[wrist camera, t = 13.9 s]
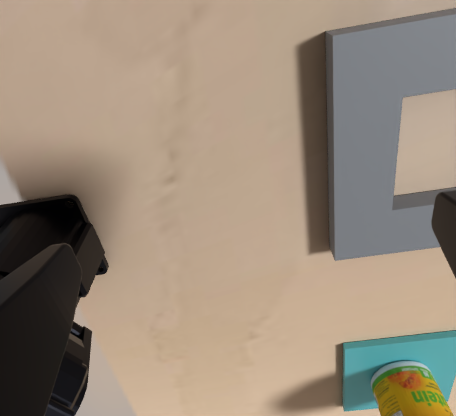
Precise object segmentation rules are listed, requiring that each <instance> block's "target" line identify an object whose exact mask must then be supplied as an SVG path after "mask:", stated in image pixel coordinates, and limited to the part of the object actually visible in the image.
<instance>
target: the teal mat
mask: <svg viewBox="0 0 456 416" xmlns="http://www.w3.org/2000/svg"><path fill="white" fill-rule="evenodd" d="M399 361H416V362H420V363H422V364H424V365H425V366H427V367H428V368H429V370H430V371H431V373H432V375H433V377H434V378H435V380H436V382H437V384H438V386H439V388H440V390H441V392H442V394H443V396H444V398H445V400H446V401H448V399H449V396H450V392H451V389H452V385H453V382H454V378H455V375H456V330H455V331H446V332H437V333H428V334H420V335H411V336H402V337H393V338H384V339H375V340H366V341H357V342H349V343H343V409H344V411H354V410H364V409H374V408H378V406H377V403H376V400H375V397H374V394H373V391H372V388H371V379H372V377H373V375H374V374H375V373H376V372H377V371H378V370H379V369H380V368H382V367H383V366H385V365H388V364H391V363H394V362H399Z"/></svg>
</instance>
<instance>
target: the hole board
mask: <svg viewBox="0 0 456 416" xmlns="http://www.w3.org/2000/svg"><path fill="white" fill-rule="evenodd" d="M325 38H326V90H327V143H328V195H329V247H330V249H331V252H332V254H333V257H334V260H335V261H336V260H344V259H352V258H359V257H367V256H375V255H382V254H390V253H398V252H405V251H413V250H421V249H428V248H436V247H440V245H439V243H438V240H437V238H436V236H435V234H434V232H433V230H432V225H431V220H432V214H433V209H434V203H435V198H436V195H437V194H438V193H439V192H444V191H451V190H456V187H454V188H447V189H440V190H433V191H426V192H419V193H412V194H405V195H398V196H394V185H395V174H396V163H397V153H398V142H399V131H400V121H401V110H402V99H403V97H409V96H415V95H421V94H427V93H433V92H439V91H446V90H452V89H456V8H453V9H448V10H442V11H436V12H431V13H425V14H420V15H414V16H408V17H403V18H397V19H392V20H386V21H381V22H375V23H369V24H364V25H358V26H353V27H347V28H342V29H336V30H330V31H325Z"/></svg>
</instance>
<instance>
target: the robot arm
mask: <svg viewBox="0 0 456 416" xmlns="http://www.w3.org/2000/svg"><path fill="white" fill-rule="evenodd" d="M68 201H70V202H72V203H73V204H74V205H71V204H69V203H68ZM431 225H432V230H433V232H434V234H435V236H436V238H437V240H438V243H439V245H440V247H441V249H442V251H443V253H444V255H445V257H446V259H447V261H448V263H449V266H450V268H451V270H452V272H453V274H454V276H455V278H456V190H451V191H444V192H439V193H438V194H437V195H436V198H435V203H434V209H433V214H432V220H431ZM104 254H105V251H104V249H103V247H102V245H101V242H100V240H99V238H98V236H97V234H96V231H95V229H94V227H93V225H92V224H91V223H90V222H89V221H88V219H87V216H86V214H85V212H84V210H83V207H82V205H81V203H80V201H79V199H78V198H77V197H76V196H74V195H63V196H56V197H50V198H43V199H37V200H30V201H24V202H17V203H11V204H4V205H0V416H74V415H75V414H76V412H77V410H78V409H79V407H80V405H81V402H82V400H83V398H84V395H85V392H86V389H87V383H88V371H89V360H90V348H91V337H92V331H91V330H89V329H88V328H86V327H81V326H80V325H78V324H77V323H75V322H74V321H73V320H74V314H75V310H76V307H77V304H78V302H79V300H80V298H81V297H86V295H87V294H88V292H89V290H90V287H91V285H92V283H93V280H94V278H95V275H101V274H105V273H106V272H107V270H108V267H109V265H108V263H107V260H106V258H105V256H104ZM100 267H103V268H100Z"/></svg>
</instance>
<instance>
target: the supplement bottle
mask: <svg viewBox="0 0 456 416" xmlns="http://www.w3.org/2000/svg"><path fill="white" fill-rule="evenodd" d="M371 388H372V391H373V394H374V397H375V400H376V403H377V406H378V408H379V411H380V414H381V416H453V413H452V412H451V410H450V408H449V406H448V404H447V402H446V400H445V398H444V396H443V394H442V392H441V390H440V388H439V386H438V384H437V382H436V380H435V378H434V377H433V375H432V373H431V371H430V370H429V368H428V367H427V366H425V365H424V364H422V363H420V362H416V361H399V362H394V363H391V364H388V365H385V366H383V367H382V368H380V369H379V370H378V371H377V372H376V373H375V374H374V375H373V377H372V379H371Z"/></svg>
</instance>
